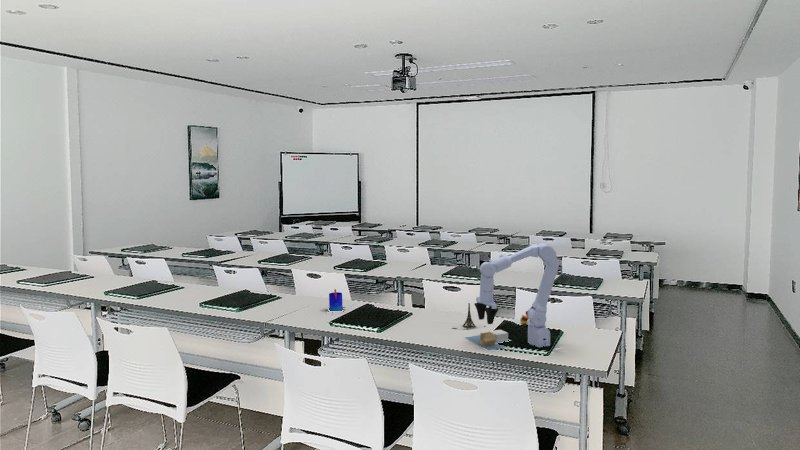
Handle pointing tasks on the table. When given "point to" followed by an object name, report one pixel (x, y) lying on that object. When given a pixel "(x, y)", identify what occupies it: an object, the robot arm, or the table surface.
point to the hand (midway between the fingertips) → (485, 321)
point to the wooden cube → (487, 339)
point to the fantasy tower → (335, 301)
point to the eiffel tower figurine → (468, 322)
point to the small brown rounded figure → (524, 319)
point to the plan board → (477, 341)
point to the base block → (500, 335)
